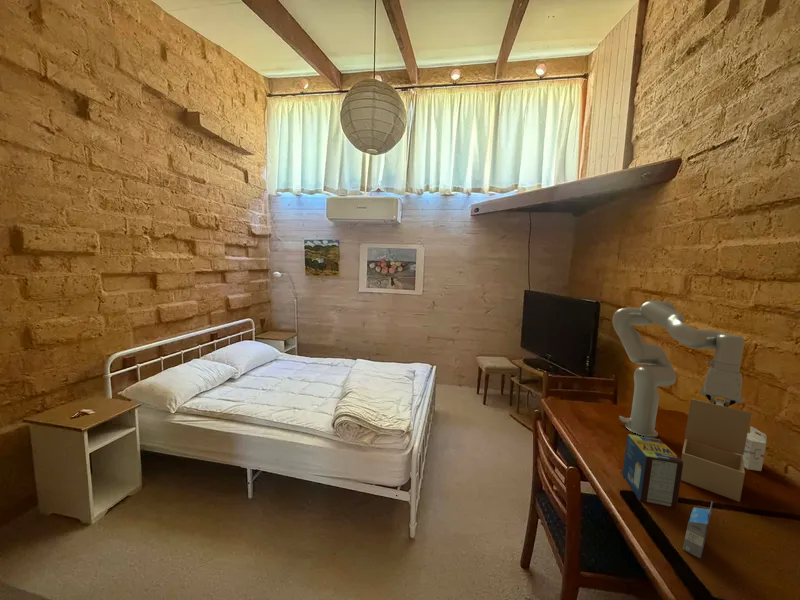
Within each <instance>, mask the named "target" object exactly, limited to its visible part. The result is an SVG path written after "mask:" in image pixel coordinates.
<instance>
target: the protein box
mask: <svg viewBox="0 0 800 600" xmlns="http://www.w3.org/2000/svg"><path fill="white" fill-rule="evenodd" d="M625 445H626V446H625V451H624V459H623V466H622V473H621V475H622V476H623V478H624V479H625V481H626V483H627V484H628V485H629V487H630V488H631V491H632V492H633V493H634V495H635V496H636V497H637V499H638V501H639V502H642V503H647V504H653V505H658V506H663V507H668V508H673V509H677V507H678V501H679V494H680V489H681V488H680V487H681V476H682V470H683V464H684V462H683V461H682V460H681V458H680V457H679V456H678V455H677V454H676V453H675V452H674V451H673V450H671V448H670V447H669V446H668V445H667V444H666V443H664V442H663V440H661V439H660V438H656V437H655V438H649V437H643V436H639V435H637V434H631V433H630V434H629V433H628V434H627V437H626V444H625Z"/></svg>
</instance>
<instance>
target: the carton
mask: <svg viewBox="0 0 800 600" xmlns="http://www.w3.org/2000/svg"><path fill="white" fill-rule="evenodd" d="M680 459H681V460H682V461H683V462H684V464H683V470H682V476H681V481H682V482H685V483H688V484H691V485H693V486H695V487H698V488H701V489H704V490H706V491H709V492H712V493H714V494H717V495H720V496H722V497H725V498H727V499H731V500H734V501H737V502H739V503H740V502H741V497H742V491H743V486H744V482H745V481H744V480H745V475H746V471H745V467H744V463H743V456H742V455H738V454H735V453H733V452H730V451H727V450H724V449H720V448H717V447H714V446H710V445H707V444H704V443H700V442H697V441H694V440H691V439H687V438H685V437H684V443H683V447H682V452H681V458H680Z"/></svg>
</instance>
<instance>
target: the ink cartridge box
mask: <svg viewBox="0 0 800 600" xmlns="http://www.w3.org/2000/svg"><path fill="white" fill-rule="evenodd" d="M749 428H750V429H749V432H748V434H747V439H746V444H745V449H744V454H743V455H742V456H743V463H744V469H746V470H751V471H758V472H762V469H763V464H764V458H765V455H766V448H767V436H768V435H766V433H764V432H762V431H760V430H758V429H757V428H755V427H753V426H749ZM757 433H758V434H757ZM732 453H734V452H732ZM735 454H737V453H735ZM738 455H740V454H738Z"/></svg>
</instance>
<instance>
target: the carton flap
mask: <svg viewBox="0 0 800 600" xmlns="http://www.w3.org/2000/svg"><path fill="white" fill-rule="evenodd" d="M715 401H716V402H715V403H716V404H713V403H711V402H710V401H709V402H708V401H704V400H700V399H695V398H690V402H689V409H688V414H687V420H686V421H687V422H686V426H685V434H684V439H685V438H686V439H689V440H692V441H695V442H699V443H702V444H705V445H709V446H712V447H715V448H719V449H722V450H725V451H728V452H732V453H733V452H734V453H737V454H740V455H743V454H744V449H745V444H746V439H747V434H748V433H749V430H750V429H749V428H750V424H751V419H752V414H753V413H752V412H749V411H745V410H741V409H737V408H734V407H730V406H729V407H725V406H724V403H725V399H723V398H722V399H721V398H715Z"/></svg>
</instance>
